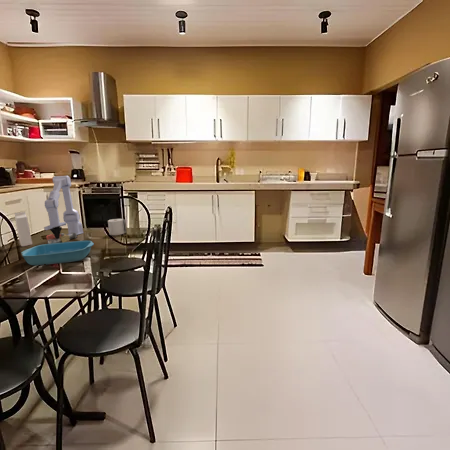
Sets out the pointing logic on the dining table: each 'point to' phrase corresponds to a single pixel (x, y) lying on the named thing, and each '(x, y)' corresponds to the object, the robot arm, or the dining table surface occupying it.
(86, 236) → the dining table surface
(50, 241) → the valve body
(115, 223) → the toilet tissue
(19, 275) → the dining table surface
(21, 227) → the milk
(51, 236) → the lever
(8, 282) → the dining table surface
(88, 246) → the casserole dish
